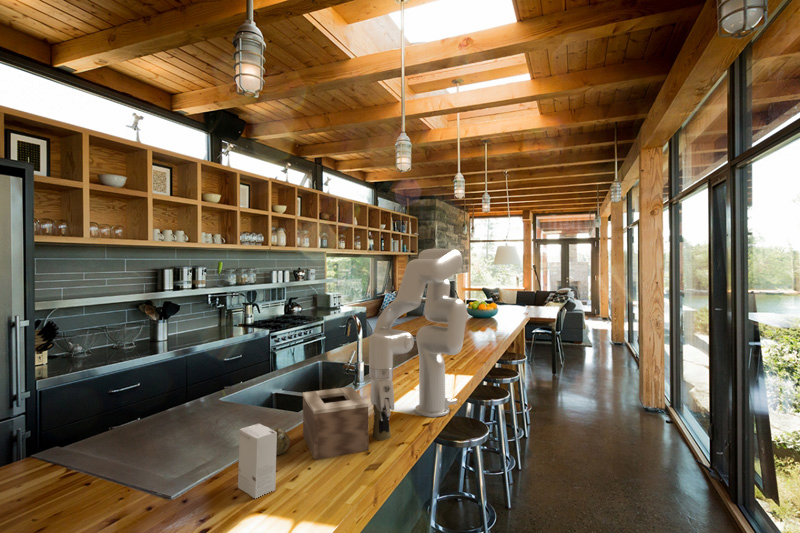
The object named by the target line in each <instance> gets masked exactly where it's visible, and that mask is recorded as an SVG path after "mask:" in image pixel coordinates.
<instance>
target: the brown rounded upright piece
mask: <svg viewBox="0 0 800 533" xmlns="http://www.w3.org/2000/svg"><path fill="white" fill-rule="evenodd" d="M372 409H373V413H374V412H375V417H374V416H373V427H372V433H371V434H372V435H371V438H372V439H373V440H375V441H386V440H389V439H391V437H392V433H391V425H390V424H389V432H386V431H383V432H382V433H379V420H380V411H379V410H378V409H377V407H376V405H375V404H374V406H373V405H372ZM382 410H385V408H382ZM383 414H385V412H383V413H382V415H383Z"/></svg>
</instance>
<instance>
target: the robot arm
mask: <svg viewBox="0 0 800 533" xmlns="http://www.w3.org/2000/svg"><path fill="white" fill-rule="evenodd" d="M462 265H463V255H462V253H461V252H460V251H459V250H458V249H457V248H456V249H455V248H428V249H424V250H422V251H421V252H419V255H418V258H415V259H412V260H410V261H409V262H408V263H407V264H406V267H405V269H404V271H403V272H404V273H403V275H402V279H401V282H400V286H399V289H398V292H397V295H396V297H395V299H394V300H393V301H391V302H390V303H389V304H388V305H387V306H386V307H385V309H384V310H382V311H381V313H380V314H379V316H378V318H377V320H376V324H375V327H374V330H373V333H372V334H370V336H369V338H368V357H369V358H368V362H369V363H368V368H369V370H368V371H369V372H368V374H369V375H368V376H369V379H370V402H371V405H372V407H373V406H374V404H375V405H376V407H377V409H378V410H379V411H380V420H379V433H382V432H383V431H386V432H389V425H390V416H391V414H392V412H391V411H394V410H395V394H394V383H393V378H394V355H404V354H407V353H409V352H410V351H412V349H413V348H414V346H415V345H414V344H415V339H416V346H417V350H418V360H419V362H418V363H419V364H418V365H419V368H418V370H419V371H418V373H419V374H418V377H419V378H418V383H419V384H418V385H419V386H418V387H419V388H418V389H419V390H418V391H419V395H418V397H419V398H418V399H419V400H418V402H419V403H418V404H417V405H416V406H415V409H414V411H415V412H416V414H418V415H420V416H423V417H430V418H434V417H435V418H436V417H437V418H438V417H443V416H446V415H448V414H449V413H450V407H449V406H450V405H457V404H458V399H457V398H451V397H447V398H446V363H445V359H444V357H443V355H449V356H453V355H454V356H455V355H458V354H460V352H461V351H462V348H463V345H464V340H465V338H464V337H465V331H466V324H467V323H466V322H467V314H468V313H467V306H466V304H465V301H464V300H462V299H461V298H457V297H450V292H451V283H450V280H449V279H450V277H452V276H453V275H455V274H456V273H458V272H459V270H461V267H462ZM426 286H427V287H426ZM425 288H427V290H426V289H425ZM425 290H426V297H425V302H424V303H425V304H424V317H425V319H426V320H427V321H429V322H432V323H439V324H440V323H441V324H447V326H439V325H428V324H427V325H424V326H421V327H420V328H419V329H417V332H416V337H415V339H414V336H413V334H411V333H410V332H409V331H407V330H402V329H395V328H394V329H393V328H392V326H393V325H394V323H395V321H396V320H397V319H398V318H400V317H401V316H402V315H404V314H407V313H409V312H411V311H413V310H416V309H418V308H419V307H420V306H421V303H422V300H423V297H424V292H425ZM382 408H385V410H382ZM383 412H385V414H383V415H382V413H383ZM374 417H375V412H374V411H373V418H374Z"/></svg>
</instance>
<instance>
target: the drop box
mask: <svg viewBox="0 0 800 533" xmlns="http://www.w3.org/2000/svg"><path fill="white" fill-rule="evenodd" d="M302 436H303V439H304V440H305V443H306V445H307V447H308V450H309V452H310V453H311V456H312V458H313V460H314V461H317V460H322V459H324V460H325V459H329V458H335V457H338V456H345V455H350V454H355V453H363V452H367V451H368V452H369V450H370V448H369V442H370V441H369V403H368V401H366V400H365V398H364V397H363V396H361V395H360V394H359V393H358V392H357V391H356V390H355V388H353V387H352V386H348V387H347V386H346V387H345V386H344V387H337V388H331V389H322V390H321V389H320V390H313V391H305V392H304V391H303V392H302Z"/></svg>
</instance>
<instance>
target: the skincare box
mask: <svg viewBox="0 0 800 533" xmlns="http://www.w3.org/2000/svg"><path fill="white" fill-rule="evenodd" d="M273 430H274V429H271V428H270V427H269V426H265V425H263V424H261V423H256V424H252V425H250V426H246V427H242V428H240V429H239V440H238V441H239V442H238V444H239V445H238V469H237V470H238V471H237V472H238V476H237V477H238V478H237V488H238V489H239V490H241V491H243V492H244V493H247V495H249V496H250V497H252V498H253V499H254V498H255V500H256V498H257V499H259V498H261V497H263V496H265V495H264V494H266V495H268V494H270V493H272V492H275V491H276V483H277V482H276V481H277V480H276V479H277V478H276V476H277V474H276V472H277V455H276V446H277V432H275V431H273ZM271 491H272V492H271ZM269 492H270V493H269ZM267 493H268V494H267ZM262 495H263V496H262ZM260 496H261V497H260ZM258 497H259V498H258Z"/></svg>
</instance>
